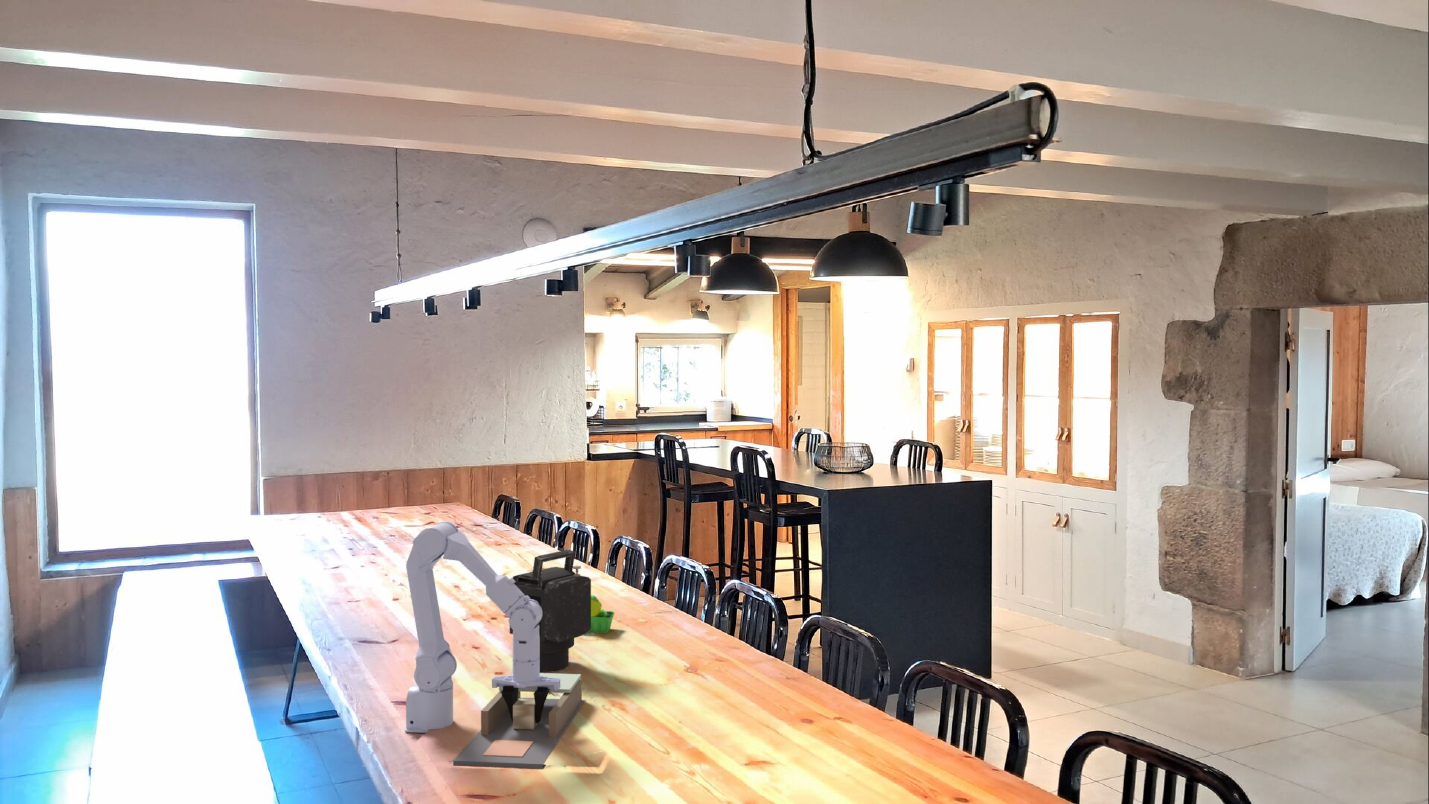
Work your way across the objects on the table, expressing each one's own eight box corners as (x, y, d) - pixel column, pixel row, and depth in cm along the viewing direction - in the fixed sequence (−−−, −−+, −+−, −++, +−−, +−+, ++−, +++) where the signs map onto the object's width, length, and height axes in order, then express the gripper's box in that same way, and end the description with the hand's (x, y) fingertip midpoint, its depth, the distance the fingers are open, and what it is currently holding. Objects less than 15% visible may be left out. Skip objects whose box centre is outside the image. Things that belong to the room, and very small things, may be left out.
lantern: (545, 654, 275) (544, 544, 274) (594, 665, 264) (594, 551, 263) (503, 667, 262) (503, 552, 261) (553, 680, 252) (553, 560, 251)
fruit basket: (615, 627, 303) (615, 590, 302) (609, 635, 294) (609, 597, 294) (577, 626, 304) (577, 589, 303) (570, 634, 295) (570, 596, 295)
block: (513, 728, 215) (512, 705, 215) (519, 721, 219) (518, 698, 219) (533, 729, 215) (533, 706, 214) (539, 722, 219) (539, 699, 219)
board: (453, 765, 198) (453, 734, 198) (510, 701, 236) (509, 675, 236) (543, 769, 196) (543, 738, 196) (585, 704, 234) (585, 678, 234)
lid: (498, 690, 224) (498, 678, 224) (513, 675, 235) (513, 663, 235) (569, 693, 222) (569, 680, 222) (580, 677, 233) (580, 665, 233)
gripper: (487, 662, 213) (487, 726, 214) (554, 665, 212) (554, 729, 212) (497, 653, 220) (497, 714, 221) (562, 655, 219) (562, 717, 219)
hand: (526, 721), depth 217 cm, fingers closed on block, 4 cm apart
